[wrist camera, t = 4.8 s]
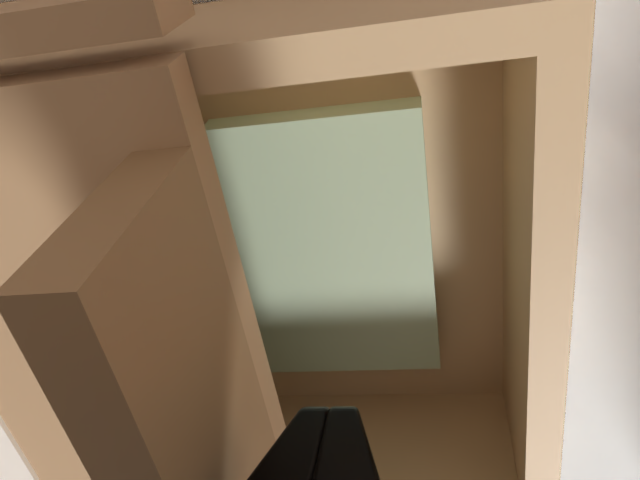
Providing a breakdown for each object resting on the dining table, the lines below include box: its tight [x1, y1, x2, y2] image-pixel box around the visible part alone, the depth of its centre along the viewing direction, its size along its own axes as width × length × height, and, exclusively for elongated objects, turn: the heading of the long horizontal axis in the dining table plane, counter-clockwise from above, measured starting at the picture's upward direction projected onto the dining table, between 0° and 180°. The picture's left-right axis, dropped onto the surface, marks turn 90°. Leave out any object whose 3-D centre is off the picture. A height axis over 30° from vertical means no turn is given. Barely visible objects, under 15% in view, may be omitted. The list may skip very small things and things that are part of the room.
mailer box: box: [0, 0, 596, 480], centre depth 12 cm, size 14×10×4 cm
